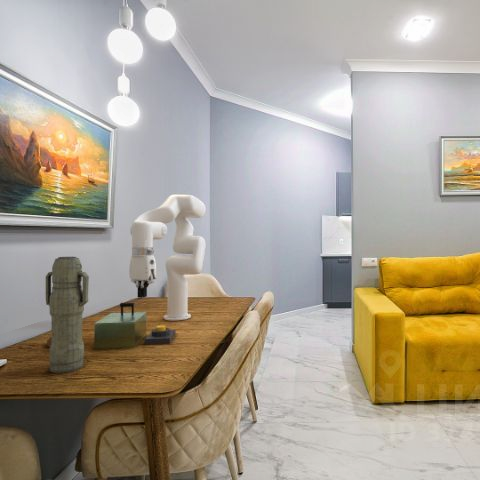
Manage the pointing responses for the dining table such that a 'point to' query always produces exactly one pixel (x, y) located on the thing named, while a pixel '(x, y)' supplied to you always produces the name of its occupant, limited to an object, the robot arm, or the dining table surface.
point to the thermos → (66, 313)
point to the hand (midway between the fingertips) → (142, 297)
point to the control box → (160, 337)
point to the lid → (122, 316)
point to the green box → (119, 335)
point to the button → (161, 328)
